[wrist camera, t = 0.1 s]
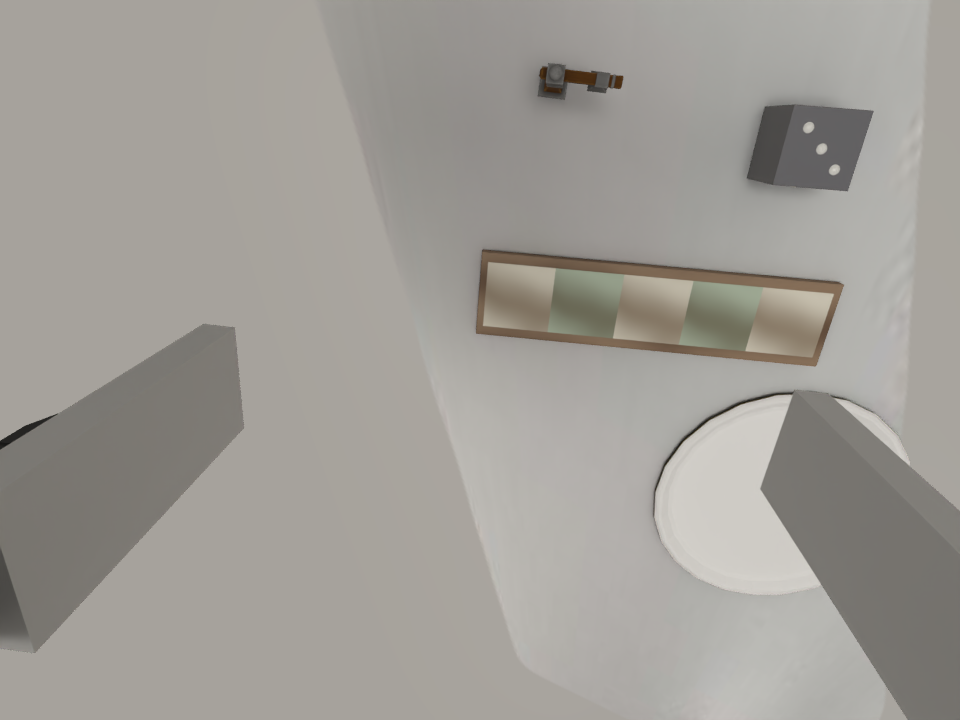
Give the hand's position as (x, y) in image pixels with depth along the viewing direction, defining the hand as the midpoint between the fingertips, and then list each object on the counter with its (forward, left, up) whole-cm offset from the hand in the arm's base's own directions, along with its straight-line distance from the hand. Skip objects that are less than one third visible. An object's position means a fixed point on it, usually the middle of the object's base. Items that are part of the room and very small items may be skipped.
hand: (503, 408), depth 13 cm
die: (-6, +18, -30) cm, 35 cm away
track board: (+6, +11, -30) cm, 32 cm away
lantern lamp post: (-9, +2, -30) cm, 31 cm away
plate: (+22, +25, -30) cm, 45 cm away
